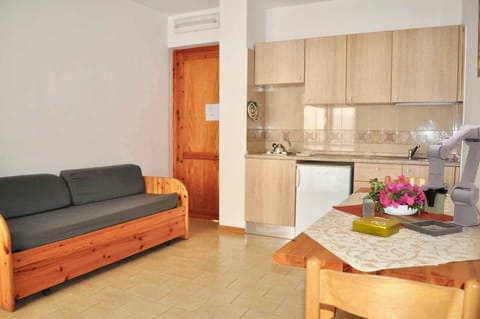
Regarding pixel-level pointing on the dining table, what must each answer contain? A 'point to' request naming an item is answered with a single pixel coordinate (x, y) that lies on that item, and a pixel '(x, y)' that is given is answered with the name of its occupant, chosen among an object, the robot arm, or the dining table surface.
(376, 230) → the element tile
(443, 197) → the parts box
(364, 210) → the medicine box
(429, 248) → the dining table surface
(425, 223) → the grey flat square frame
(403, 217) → the walnut board
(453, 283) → the dining table surface
